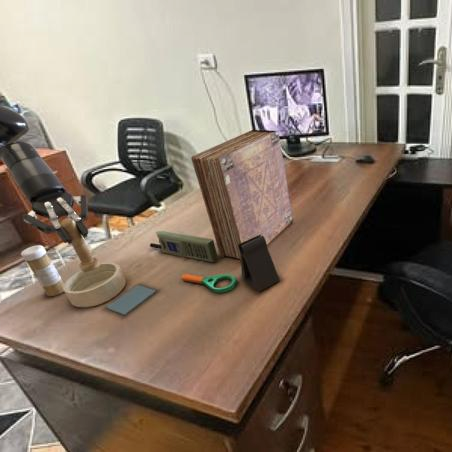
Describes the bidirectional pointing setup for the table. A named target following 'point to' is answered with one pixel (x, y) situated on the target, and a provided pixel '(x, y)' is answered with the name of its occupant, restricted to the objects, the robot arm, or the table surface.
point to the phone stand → (257, 263)
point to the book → (244, 189)
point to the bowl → (94, 285)
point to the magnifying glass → (214, 279)
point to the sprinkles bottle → (43, 269)
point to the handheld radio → (186, 246)
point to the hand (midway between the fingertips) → (78, 239)
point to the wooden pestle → (79, 246)
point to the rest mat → (131, 300)
